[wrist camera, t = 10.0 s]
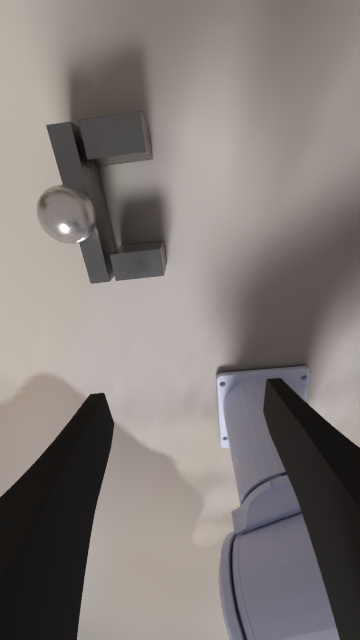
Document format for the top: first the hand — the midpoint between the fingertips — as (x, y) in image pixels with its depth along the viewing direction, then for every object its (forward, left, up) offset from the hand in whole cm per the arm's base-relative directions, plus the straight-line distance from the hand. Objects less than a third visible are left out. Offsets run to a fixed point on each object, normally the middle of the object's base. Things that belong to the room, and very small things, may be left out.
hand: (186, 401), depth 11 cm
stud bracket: (+8, +4, -9) cm, 13 cm away
